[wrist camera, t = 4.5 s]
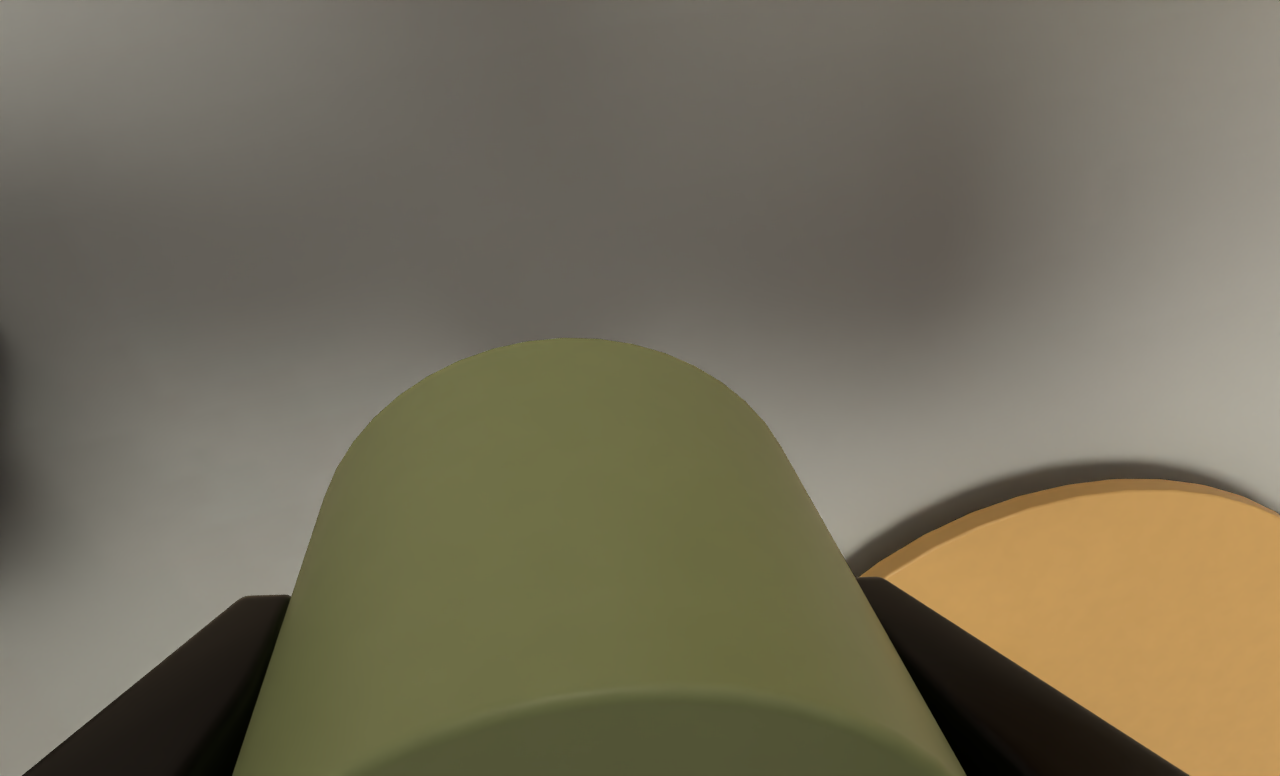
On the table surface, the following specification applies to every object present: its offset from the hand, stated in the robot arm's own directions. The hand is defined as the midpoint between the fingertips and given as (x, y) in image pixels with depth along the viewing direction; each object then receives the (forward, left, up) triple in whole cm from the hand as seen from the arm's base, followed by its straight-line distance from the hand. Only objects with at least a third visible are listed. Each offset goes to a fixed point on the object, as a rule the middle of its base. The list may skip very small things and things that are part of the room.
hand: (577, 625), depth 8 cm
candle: (0, 0, -1) cm, 1 cm away
